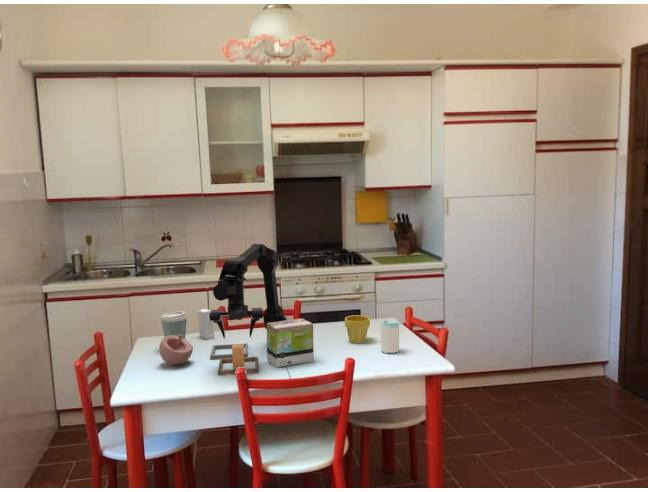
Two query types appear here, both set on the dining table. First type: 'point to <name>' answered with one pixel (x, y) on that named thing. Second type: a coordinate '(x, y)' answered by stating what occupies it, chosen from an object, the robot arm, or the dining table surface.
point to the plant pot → (357, 327)
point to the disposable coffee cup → (174, 323)
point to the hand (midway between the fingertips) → (237, 337)
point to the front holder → (232, 371)
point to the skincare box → (205, 324)
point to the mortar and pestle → (175, 349)
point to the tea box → (289, 342)
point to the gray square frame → (228, 346)
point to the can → (389, 336)
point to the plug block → (238, 356)
